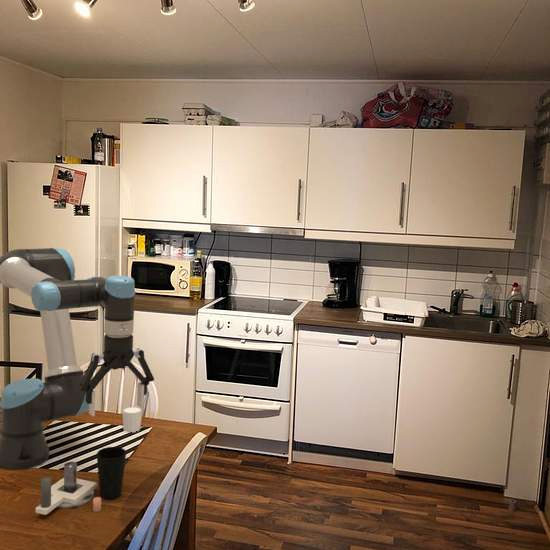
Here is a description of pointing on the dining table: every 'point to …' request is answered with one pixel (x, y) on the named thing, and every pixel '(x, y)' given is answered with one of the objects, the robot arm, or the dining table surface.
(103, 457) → the cup
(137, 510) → the dining table surface
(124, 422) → the white cylinder
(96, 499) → the dowel
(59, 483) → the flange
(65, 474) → the base
